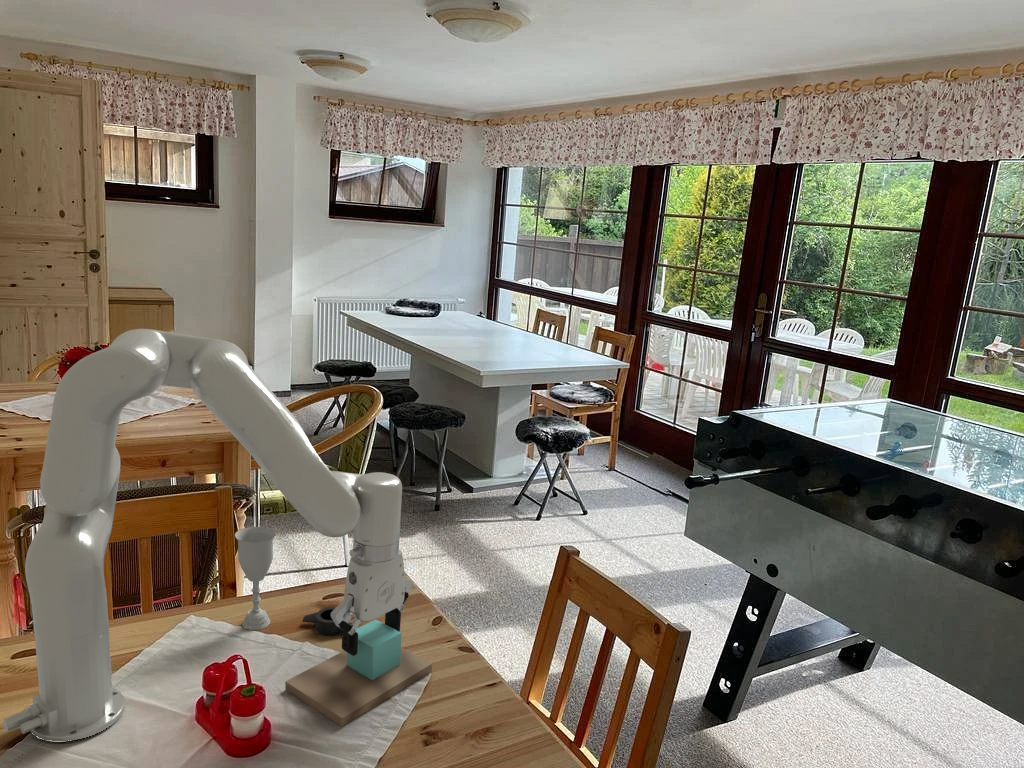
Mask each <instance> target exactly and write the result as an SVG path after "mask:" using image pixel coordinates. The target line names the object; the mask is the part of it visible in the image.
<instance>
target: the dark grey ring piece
mask: <svg viewBox="0 0 1024 768" xmlns="http://www.w3.org/2000/svg"><path fill="white" fill-rule="evenodd" d="M336 607H337V606H331V607H329V606H328V607H325V608H321V609H320V610H318V611H316V612H313V613H310V614H305V615H304V617H303V618H302V620H301V622H302V623H312V624H315V632H316V633H318V634H320V635H322V636H325V637H326V636H327V637H330V636H337V635H342V630H341V629H340V628H339V627H337V626H336V625H335V624H334V621H333V619H332V617H331V612H332V611H333V610H334V609H335V608H336ZM345 614H346V613H345ZM345 614H344V616H345ZM344 616H343V617H344ZM348 624H349V625H351V624H352V622H350V621H349V623H348ZM361 625H362V624H361V623H360V624H359V626H358V628H359V627H361Z"/></svg>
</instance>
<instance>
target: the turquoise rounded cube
mask: <svg viewBox="0 0 1024 768" xmlns="http://www.w3.org/2000/svg"><path fill="white" fill-rule="evenodd" d="M355 632H357V633H358V650H357V654H356V655H355V656H353V655H351V654H349V653H347V666H349V667H351V668H352V669H354V670H356V671H358V672H359V673H361V674H363V675H364V676H366V677H368V678H369V679H371V680H374V679H376V678H377V677H379V676H381V675H383V674H384V673H386V672H388V671H389V670H391V669H393V668H395V667H396V666H398V665H400V659H401V647H402V632H399V631H397V630H395V629H393V628H391V627H389V626H387V625H385V622H382V621H379V620H377V618H375V619H373V620H370V621H368V622H366V623H365V624H363V625H362V626H361V625H360V626H359V627H358V628H357V630H356V631H355Z"/></svg>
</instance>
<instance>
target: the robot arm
mask: <svg viewBox="0 0 1024 768" xmlns="http://www.w3.org/2000/svg"><path fill="white" fill-rule="evenodd" d="M161 386H165V387H166V386H167V387H174V388H175V387H176V388H181V389H190V390H192V391H193V392H194V393H195V396H196V397H198V399H199V400H200V401H201V402H202V404H204V406H205V407H206V408H207V409H208V410H209V411H210V412H211V413H212V414H213V415H214V417H216V419H218V420H219V422H220V423H221V424H222V425H223V426H224V427H225V428H226V429H227V430H228V431H229V432H230V433H231V435H233V436H234V438H235V439H236V440H237V441H238V442H239V443H240V444H241V445H242V446H243V448H244V449H246V451H247V452H248V453H249V454H250V455H251V456H252V458H253V459H254V460H255V462H256V464H257V465H258V466H259V467H260V469H261V470H262V471H263V472H264V473H265V475H267V476H268V478H269V479H270V480H271V481H272V484H274V486H275V487H277V490H279V492H280V493H281V494H282V496H284V498H285V499H286V500H287V501H288V503H289V504H290V505H291V506H292V507H293V509H295V511H297V512H298V513H299V514H300V515H301V516H302V518H303V519H304V520H305V521H306V522H307V523H308V524H309V525H310V526H311V527H312V528H313V529H314V530H315V531H316V532H318V533H319V534H321V535H322V536H324V537H325V536H326V537H327V538H341V537H344V536H347V535H348V534H350V533H352V531H353V540H352V541H353V542H352V549H350V550H349V556H350V558H349V559H350V560H349V563H348V567H347V571H346V572H347V573H346V578H345V584H344V585H345V586H344V593H343V594H344V595H343V596H344V597H343V600H342V601H341V602H340V603H339V604H338V605H337V606H335V607H336V608H335V609H334V610H333V611H332V612H331V617H332V619H333V621H334V624H335V625H336V626H337V627H339V628H340V629H341V630H342V633H341V649H342V651H346V652H347V653H349V654H351V655H353V656H355V655H356V654H357V650H358V633H357V632H355V631H356V630H357V628H359V627H360V626H359V624H361V623H369V622H371V621H373V620H375V619H377V618H378V617H381V616H383V615H385V616H384V624H385V625H387V626H389V627H391V628H393V629H395V630H397V631H399V632H400V631H401V623H402V622H401V618H402V617H401V616H402V612H403V611H404V609H405V605H404V604H405V603H406V602H407V599H408V598H409V592H410V590H411V588H412V586H413V581H412V580H410V579H408V578H406V577H405V576H406V575H405V563H404V558H403V553H402V551H401V550H400V535H401V534H400V533H401V515H402V514H401V513H402V498H403V497H402V496H403V484H402V481H401V479H400V478H399V477H398V476H396V475H394V474H391V473H387V472H381V471H379V472H376V471H373V472H369V473H364V474H363V473H353V472H345V471H338V470H337V471H336V470H330V469H329V468H328V466H327V465H326V464H325V462H324V461H323V460H322V458H321V457H320V456H319V455H318V453H317V452H316V450H315V448H314V447H313V444H311V442H310V440H309V438H308V436H307V434H306V432H305V430H304V428H303V427H302V426H301V424H300V422H299V421H298V419H297V418H296V416H295V415H294V414H293V413H292V412H291V411H290V410H289V409H288V408H287V407H286V405H285V404H284V403H283V402H282V401H281V400H280V399H279V398H278V396H277V395H276V394H275V393H274V392H273V391H272V390H271V388H270V387H269V386H268V385H267V383H265V382H264V381H263V379H262V378H261V377H260V375H258V373H257V372H256V371H255V370H254V369H253V368H252V366H251V365H250V364H249V360H248V357H247V355H246V354H245V352H244V351H243V350H242V349H241V348H240V347H239V346H238V345H237V344H235V343H233V342H231V341H227V340H224V339H223V340H222V339H220V338H219V339H218V338H214V337H213V338H211V337H206V336H205V337H204V336H198V335H191V334H184V333H178V332H171V331H170V332H169V331H165V330H159V329H151V328H150V329H149V328H136V329H135V328H134V329H130V330H126V331H125V332H123V333H120V334H119V335H118V336H116V338H114V340H113V341H112V342H111V344H110V345H109V346H108V347H104V348H103V349H99V350H98V351H96V352H93V353H90V354H89V355H86V356H84V357H83V358H81V359H79V360H78V361H77V362H76V363H74V364H73V365H72V366H70V368H69V369H68V370H67V371H66V372H65V373H64V374H63V376H62V378H61V379H60V381H59V382H58V385H57V387H56V389H55V393H54V398H53V402H52V408H51V415H50V420H49V421H50V422H49V426H48V427H49V428H48V431H47V432H48V433H47V438H46V443H45V444H46V445H45V452H44V458H43V464H42V469H41V473H40V479H39V483H40V484H39V488H40V493H41V496H42V498H43V501H44V503H45V509H44V516H43V520H42V522H41V524H40V526H39V528H38V529H37V531H36V533H35V535H34V537H33V539H32V540H31V542H30V545H29V547H28V549H27V552H26V557H25V562H24V563H25V564H24V571H25V580H26V585H27V589H28V594H29V597H30V605H31V611H32V612H31V614H32V622H33V623H32V625H33V632H34V641H35V643H34V644H35V655H36V666H37V677H38V678H37V679H38V690H39V693H38V694H37V695H34V696H32V704H31V705H29V706H26V708H25V710H23V711H20V712H18V713H15V714H12V715H10V716H7V717H6V718H3V719H2V727H3V728H4V731H5V732H6V733H7V732H8V733H9V732H11V731H13V730H15V729H17V728H19V729H20V732H21V733H22V734H23V735H24V734H26V733H28V732H30V733H31V732H32V733H33V734H34V735H35V736H38V737H39V738H42V739H44V740H52V741H68V740H69V741H70V740H76V739H81V738H85V739H87V738H86V737H88V738H90V737H89V736H91V737H93V736H92V735H94V736H96V735H97V734H96V733H98V734H100V733H102V732H103V730H104V731H105V730H106V728H107V729H108V728H110V727H111V726H112V725H114V724H115V723H117V722H118V720H119V719H120V718H119V717H121V716H122V715H123V713H124V711H125V697H124V695H123V694H122V692H120V690H118V689H116V688H113V678H112V663H111V662H112V660H111V659H112V658H111V644H110V642H111V641H110V628H109V627H110V626H109V624H110V623H109V612H108V611H109V610H108V597H107V587H106V580H105V571H104V565H105V563H104V562H105V555H106V551H107V548H108V543H109V540H110V536H111V534H112V529H113V523H114V515H115V509H116V501H117V494H118V493H117V492H118V489H119V487H118V486H119V480H120V476H121V475H120V474H121V455H120V452H119V451H118V448H117V447H116V441H117V437H118V436H117V435H118V433H119V427H120V426H119V425H120V417H121V413H122V411H123V409H124V408H126V406H128V405H129V404H130V403H132V402H134V401H136V400H140V399H141V398H145V397H147V396H150V395H151V394H153V393H154V392H156V391H157V390H158V389H160V387H161ZM345 613H346V614H345ZM344 614H345V616H344ZM343 616H344V617H343ZM352 617H353V618H354V619H353V621H352V622H351V623H352V624H351V625H349V624H348V623H349V622H350V621H351V619H352ZM358 626H359V627H358ZM121 714H122V715H121ZM109 726H110V727H109ZM101 731H102V732H101ZM99 732H100V733H99ZM32 733H31V734H32ZM95 734H96V735H95ZM35 736H34V737H35Z"/></svg>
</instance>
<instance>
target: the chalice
mask: <svg viewBox="0 0 1024 768" xmlns="http://www.w3.org/2000/svg"><path fill="white" fill-rule="evenodd" d="M234 536H235V539H236V540H237V546H238V547H237V556H238V557H237V561H238V562H239V563H238V564H239V566H240V568H241V570H242V572H243V573H244V575H245V576H246V579H247V580H248V581H249V582H252V584H253V585H252V589H251V590H250V591H251V592H252V594H253V596H252V598H251V599H250V601H251V602H252V604H253V606H252V608H250V609H249V610H248V612H247V613H245V616H244V618H243V621H242V624H241V625H242V628H244V629H246V630H250V631H259V630H262V629H265V628H267V627H268V626H269V625H270V624H271V619H270V618H269V615H268V614H267V611H266V610H265V609H263V608H261V607H260V602H261V600H262V598H261V597H260V595H259V594H260V592H261V588H260V585H259V584H260V582H261V581H264V579H265V577H266V575H267V573H268V571H269V570H270V568H271V564H272V561H273V559H274V554H273V553H274V542H273V541H274V539H275V536H276V531H275V530H274V529H273V528H270V527H264V526H249V527H245V528H242V529H239V530H238V531H236V532H235V533H234Z"/></svg>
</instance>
